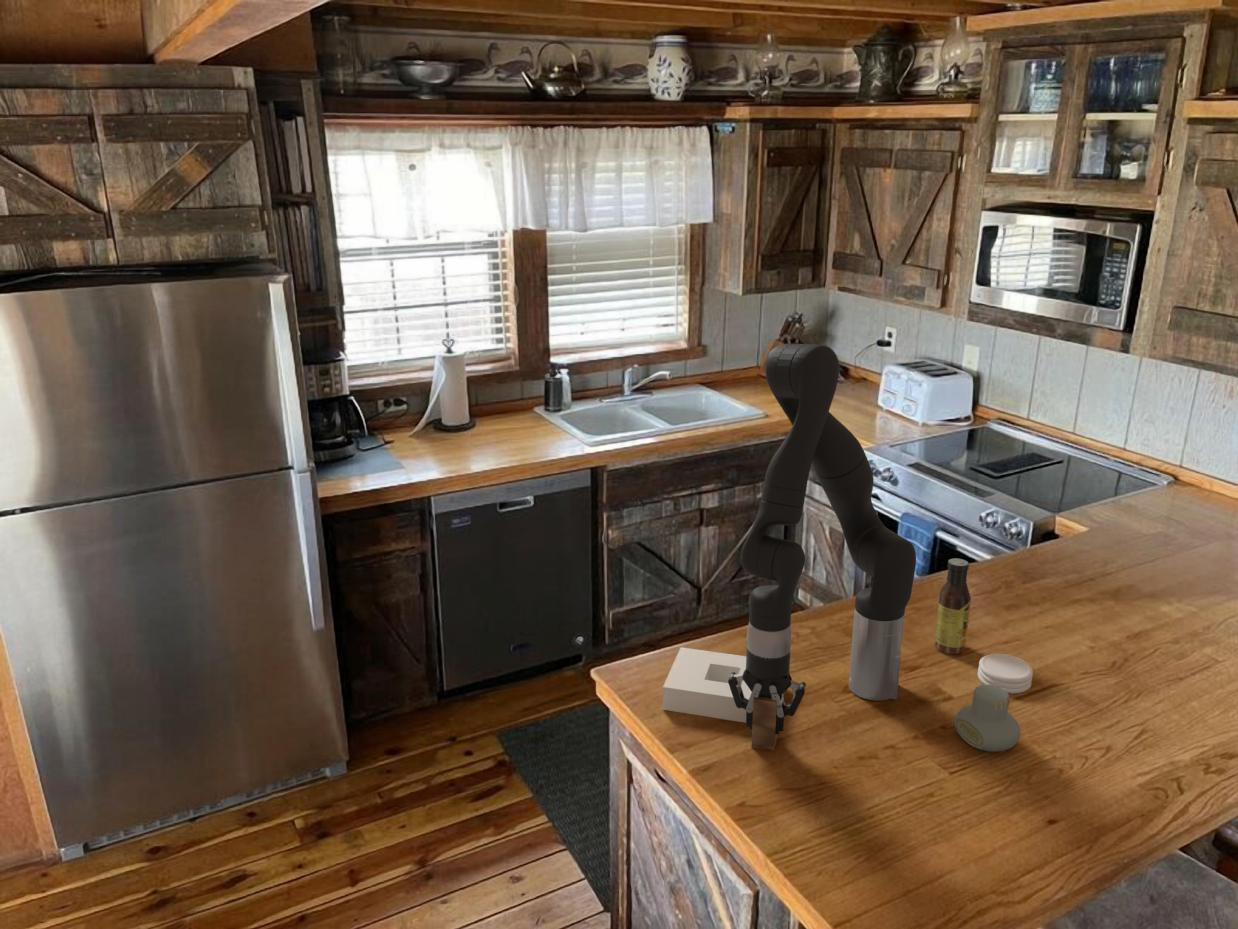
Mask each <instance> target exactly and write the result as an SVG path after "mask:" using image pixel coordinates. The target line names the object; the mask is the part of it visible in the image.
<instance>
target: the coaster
mask: <svg viewBox="0 0 1238 929" xmlns="http://www.w3.org/2000/svg"><path fill="white" fill-rule="evenodd" d="M977 669H978V670H977V678H978V680H979V681H980V682H981V683H982V685H994V686H997V687H1000V688H1002V689H1003V690H1005V691H1006V692H1007V693H1008V694H1021V693H1025V692H1026V691H1028V690H1029V689H1030V688H1031V686H1032V681H1033V676H1034V671H1033V668H1032V667H1031V665H1030V664H1029V663H1028V662H1026V661H1025V660H1023V659H1022V658H1019V657H1016V656H1014V655H1011V654H1005V653H990V654H986V655H984V656H983V657H981V658H980V660H979V662H978V668H977Z"/></svg>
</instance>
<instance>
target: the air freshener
mask: <svg viewBox="0 0 1238 929" xmlns="http://www.w3.org/2000/svg"><path fill="white" fill-rule="evenodd" d="M1009 704H1010V695H1009V693H1007V692H1006V691H1005V690H1003V689H1002V688H1000V687H997V686H994V685H984V684H980V685H979V686H977V687H975V688H974V690H973V697H972V703H970V704H968V705H965V706H963V707H962V708H960V709H959V710H958V712H957V713H956V715H955V717H954V726H955V729H956V730H957V733H958V735H959V736H960V737H961V739H962V740H964V741H965V742H966V743H967V744H968V745H970V746H971V747H973V748H976V749H978V750H981V751H985V752H994V753H995V752H1002V751H1006V750H1010V749H1011V748H1012V747H1014V746H1015V745H1016V744H1018V741H1019V740H1020V737H1021V727H1020V724H1019V723H1018V721H1017V719H1016V718H1015V717H1014V716H1013V715H1012V714H1011V713H1010V711H1009V706H1010V705H1009Z"/></svg>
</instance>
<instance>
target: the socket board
mask: <svg viewBox="0 0 1238 929" xmlns="http://www.w3.org/2000/svg"><path fill="white" fill-rule="evenodd" d="M745 669H746V656H745V655H739V654H732V653H731V654H729V653H725V652H724V653H723V652H717V651H709V650H702V649H696V648H689V647H682V646H681V647H680V648H679V651H678V652H677V654H676V657H675V659H674V661H673V664H672V665H671V668H670V669H669V672H668V674H667V676H666V679H665V682H664V684H663V686H662V710H663V711H668V712H669V711H670V712H676V713H681V714H689V715H695V716H701V717H706V718H712V719H720V720H726V721H732V722H738V723H745V724H746V710H745V709H743V708H737V707H736V704H735V701H734V698H733V695H732V692H731V689H730V686H729V683H728V680H729V677H730V674H731V673H732V672H735V673H736V674H741V673H744V671H745ZM741 688H742V691H743V694H744V697H745V698H746V699H748V700H749V697H750V695H751V690H750V689H749V687H748V686H747V685H746V683H745V682H744V680H743V681H742V685H741Z"/></svg>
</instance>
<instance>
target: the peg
mask: <svg viewBox="0 0 1238 929" xmlns="http://www.w3.org/2000/svg"><path fill="white" fill-rule="evenodd" d="M776 705H777V701H773V700H772V698H765V697H759V696H758V698H754V699H753V722H752V730H751V748H754V749H761V750H765V751H766V750H767V751H772V752H775V747H776V745H777V739H778V734H775V732H776V716H777V713H776V711H777V707H776Z"/></svg>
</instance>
